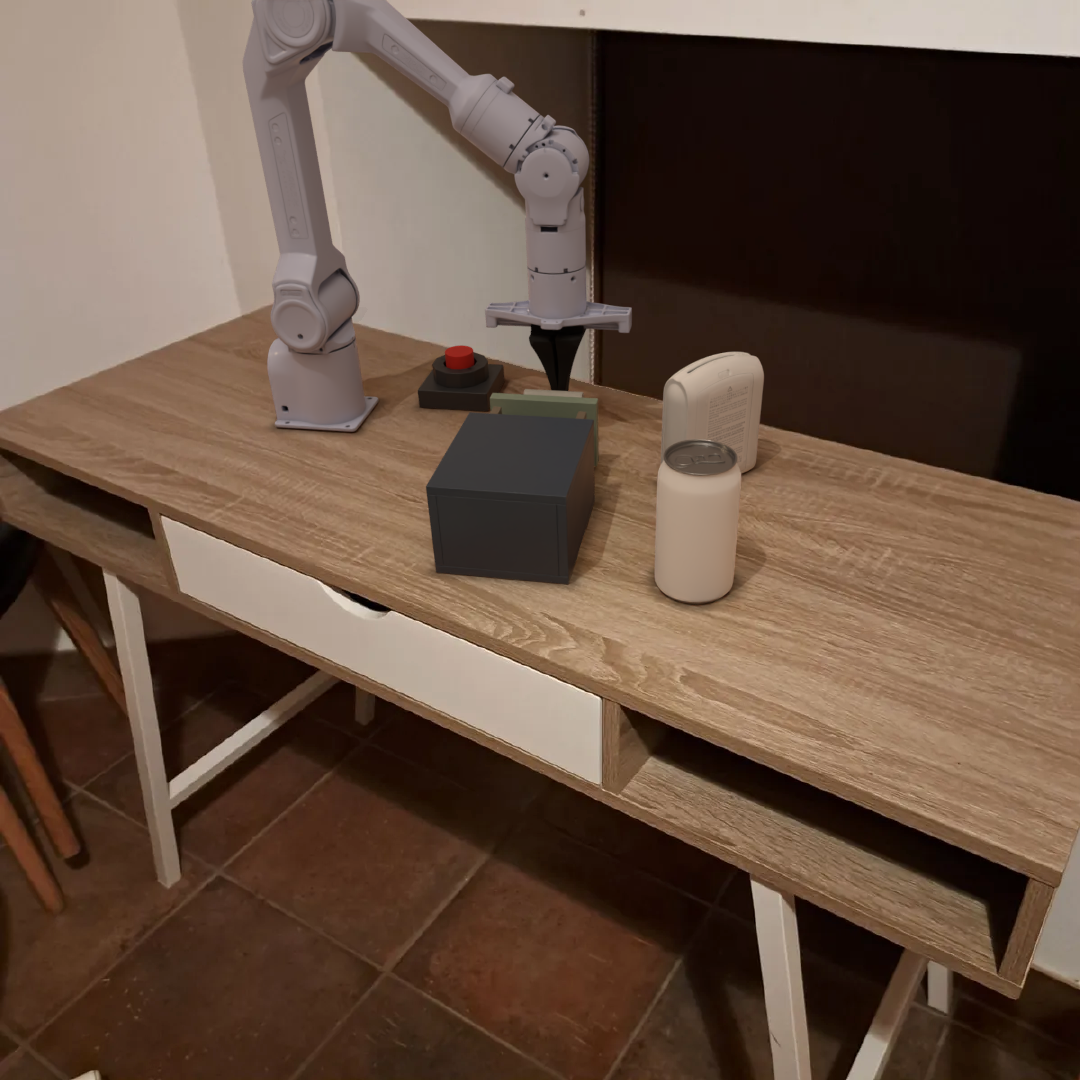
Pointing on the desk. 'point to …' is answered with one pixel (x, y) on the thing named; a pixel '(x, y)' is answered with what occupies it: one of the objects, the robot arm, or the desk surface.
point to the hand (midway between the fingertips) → (560, 393)
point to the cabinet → (513, 497)
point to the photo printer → (716, 404)
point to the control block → (461, 385)
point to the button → (459, 357)
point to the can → (697, 520)
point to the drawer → (549, 407)
